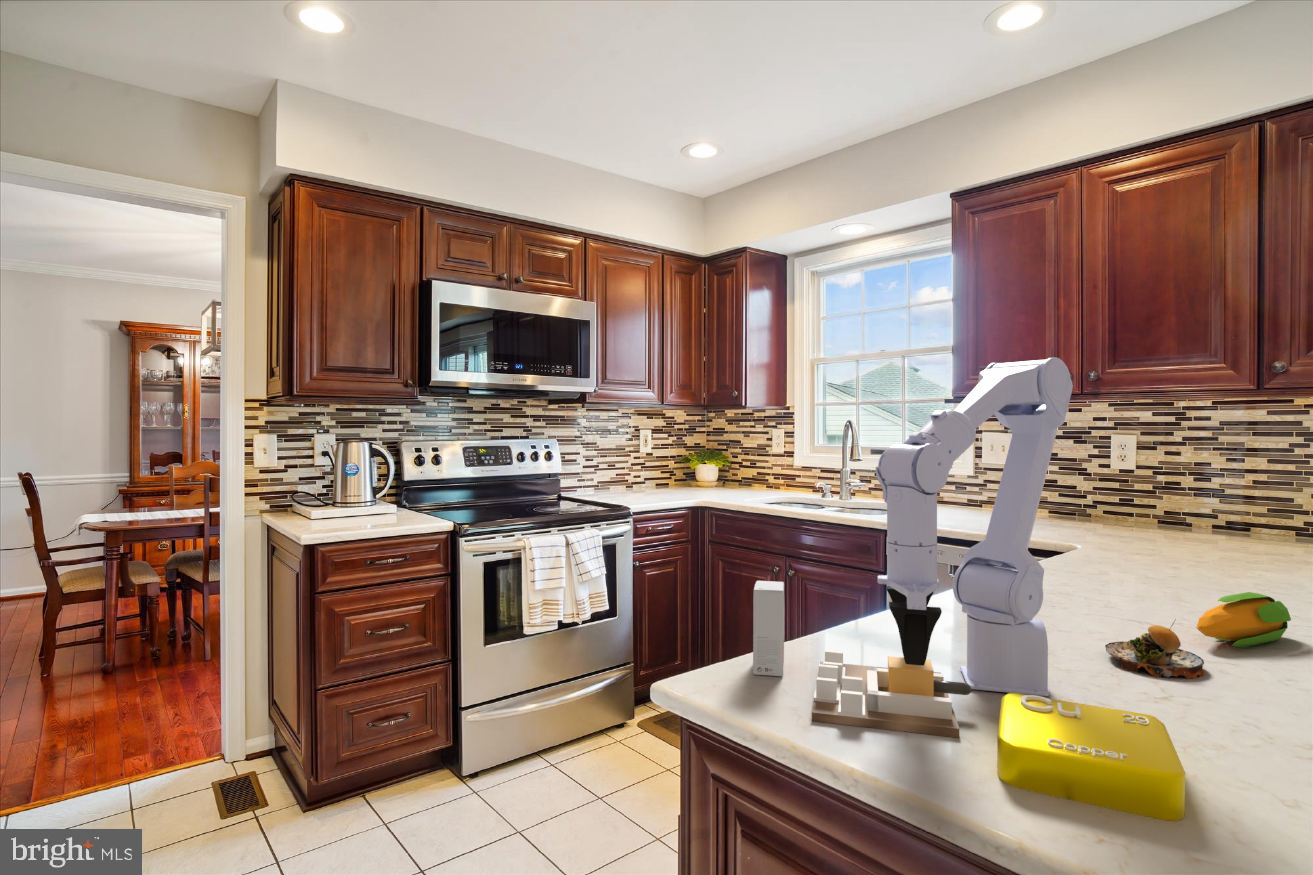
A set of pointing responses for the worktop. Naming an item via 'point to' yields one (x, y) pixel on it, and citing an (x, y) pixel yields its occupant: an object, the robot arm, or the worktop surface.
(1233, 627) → the corn
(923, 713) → the frame
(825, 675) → the clip
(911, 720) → the board
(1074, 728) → the element tile
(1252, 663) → the worktop surface
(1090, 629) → the worktop surface
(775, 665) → the skincare box
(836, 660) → the clip
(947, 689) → the block
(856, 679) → the clip
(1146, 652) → the burger
